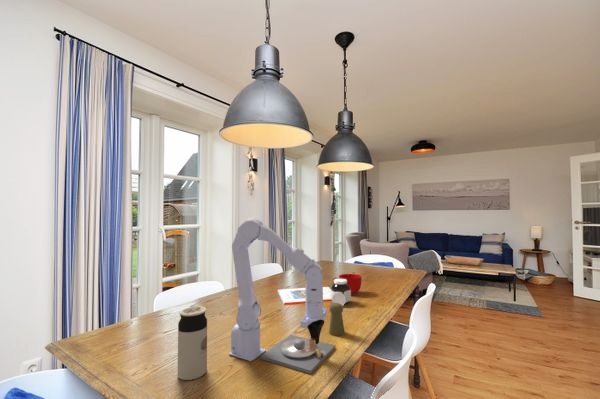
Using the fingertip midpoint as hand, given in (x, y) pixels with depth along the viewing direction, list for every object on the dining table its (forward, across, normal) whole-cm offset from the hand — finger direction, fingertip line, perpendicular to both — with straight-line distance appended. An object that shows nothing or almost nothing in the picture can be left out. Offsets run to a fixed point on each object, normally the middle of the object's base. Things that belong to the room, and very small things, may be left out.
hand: (315, 343), depth 91 cm
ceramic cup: (+4, +73, +19) cm, 75 cm away
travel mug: (+4, -28, +26) cm, 38 cm away
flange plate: (+2, -2, +4) cm, 5 cm away
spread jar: (+4, +53, +14) cm, 55 cm away
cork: (+4, +19, +1) cm, 20 cm away
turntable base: (+4, -2, +5) cm, 6 cm away
